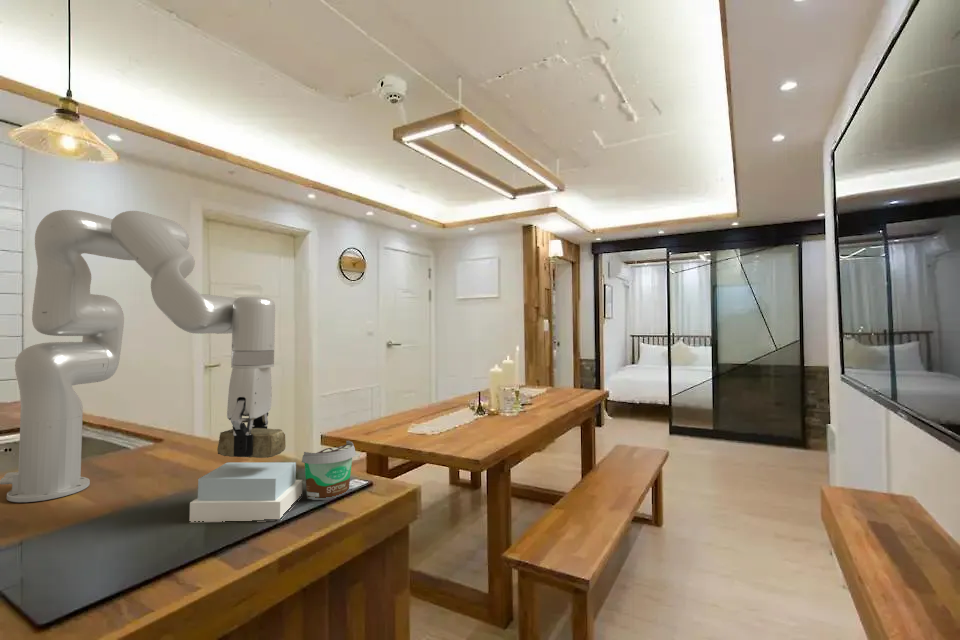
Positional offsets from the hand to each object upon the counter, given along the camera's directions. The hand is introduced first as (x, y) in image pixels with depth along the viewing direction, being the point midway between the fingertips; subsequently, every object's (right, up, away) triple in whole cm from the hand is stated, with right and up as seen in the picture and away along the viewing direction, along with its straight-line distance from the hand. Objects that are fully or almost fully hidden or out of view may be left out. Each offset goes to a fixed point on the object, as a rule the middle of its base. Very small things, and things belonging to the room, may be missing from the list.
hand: (251, 450), depth 87 cm
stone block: (0, -1, 0) cm, 1 cm away
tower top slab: (0, -8, 0) cm, 8 cm away
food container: (+14, -12, +7) cm, 20 cm away
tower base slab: (0, -12, 0) cm, 12 cm away
